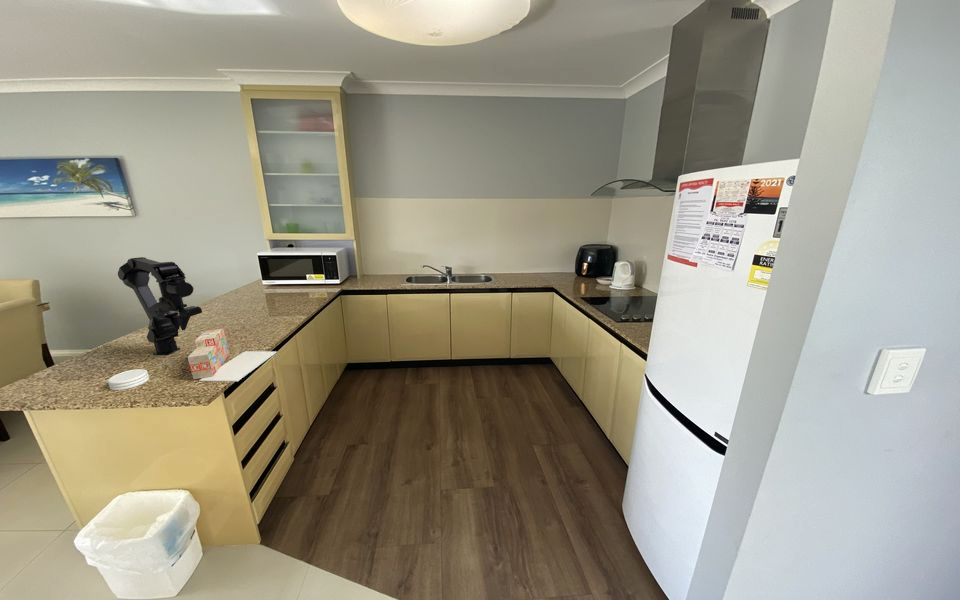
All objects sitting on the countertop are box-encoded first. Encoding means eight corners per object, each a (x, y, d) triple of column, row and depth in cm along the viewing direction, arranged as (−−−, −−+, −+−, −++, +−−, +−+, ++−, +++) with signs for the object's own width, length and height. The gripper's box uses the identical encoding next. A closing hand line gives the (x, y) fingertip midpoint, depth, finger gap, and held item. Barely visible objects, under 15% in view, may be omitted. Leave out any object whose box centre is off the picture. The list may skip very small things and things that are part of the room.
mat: (199, 381, 120) (198, 380, 119) (244, 352, 144) (244, 351, 143) (237, 381, 120) (237, 380, 120) (276, 352, 144) (276, 351, 144)
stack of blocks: (213, 376, 122) (205, 346, 119) (193, 380, 120) (184, 349, 116) (230, 353, 141) (223, 327, 138) (212, 356, 139) (205, 330, 135)
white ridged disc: (142, 374, 124) (139, 366, 123) (155, 380, 120) (152, 372, 119) (105, 386, 115) (102, 378, 114) (117, 394, 111) (114, 385, 110)
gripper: (127, 297, 122) (139, 335, 127) (169, 300, 120) (179, 339, 124) (160, 290, 133) (169, 325, 137) (198, 293, 130) (207, 328, 135)
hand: (180, 329), depth 133 cm, fingers open, 3 cm apart
